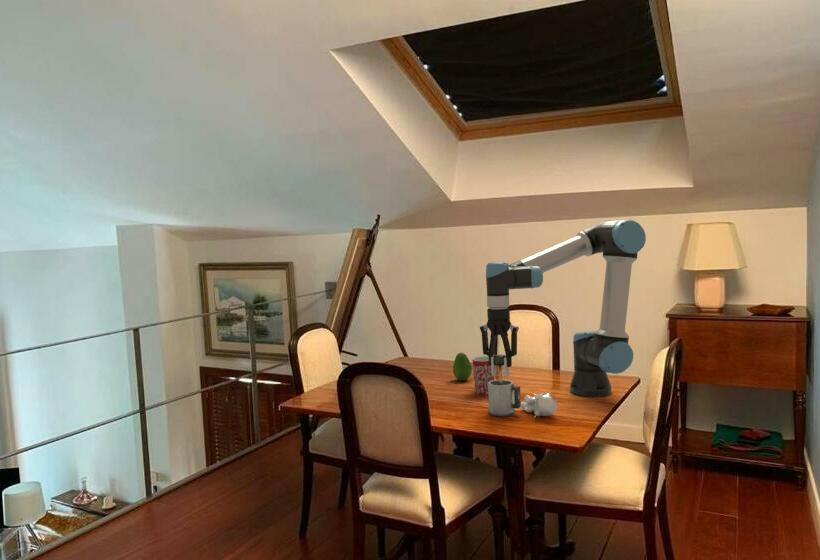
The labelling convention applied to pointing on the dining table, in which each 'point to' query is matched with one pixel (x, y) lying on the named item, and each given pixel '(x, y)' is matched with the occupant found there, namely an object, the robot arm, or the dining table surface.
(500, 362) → the plunger
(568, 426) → the dining table surface
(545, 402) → the figurine
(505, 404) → the grey coffee mug
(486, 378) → the mug
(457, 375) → the avocado
